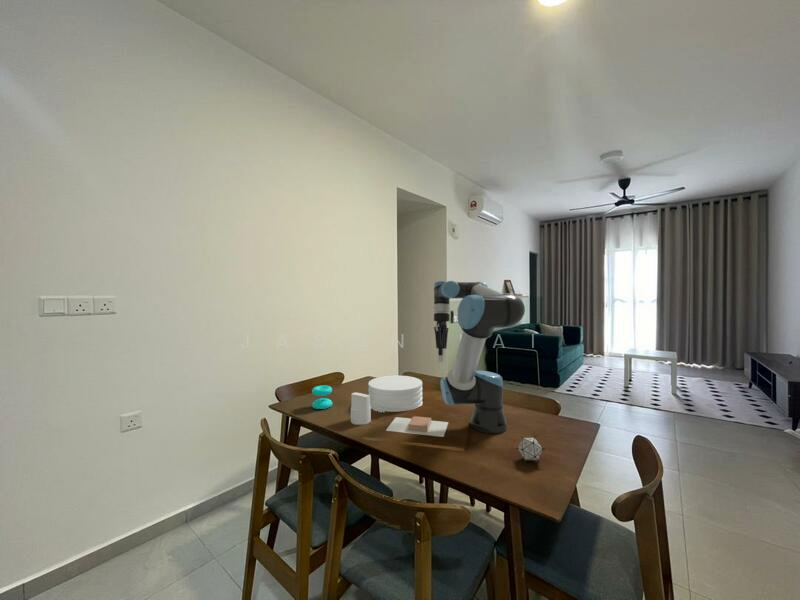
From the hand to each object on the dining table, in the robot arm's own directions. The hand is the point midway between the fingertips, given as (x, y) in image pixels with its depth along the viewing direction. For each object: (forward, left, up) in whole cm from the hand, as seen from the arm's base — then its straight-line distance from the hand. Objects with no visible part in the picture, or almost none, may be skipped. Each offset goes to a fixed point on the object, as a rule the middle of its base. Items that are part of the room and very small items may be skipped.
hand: (441, 362), depth 158 cm
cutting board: (+7, +21, -24) cm, 33 cm away
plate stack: (+25, -7, -25) cm, 36 cm away
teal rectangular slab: (+6, +16, -22) cm, 28 cm away
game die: (-36, +37, -25) cm, 57 cm away
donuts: (+60, +7, -25) cm, 65 cm away
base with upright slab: (+34, +19, -25) cm, 46 cm away
